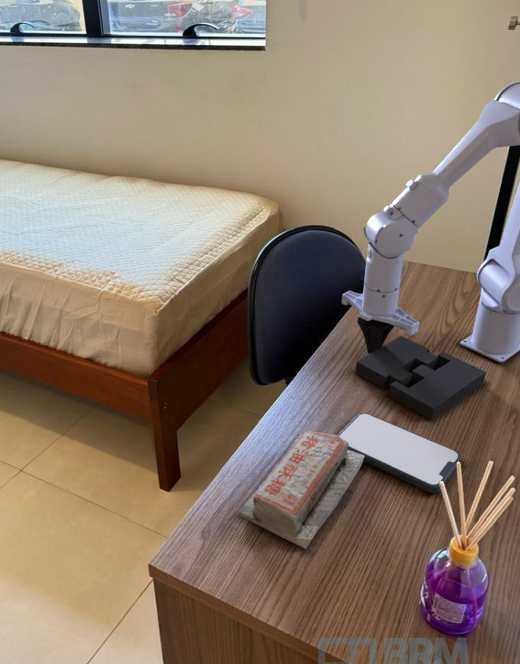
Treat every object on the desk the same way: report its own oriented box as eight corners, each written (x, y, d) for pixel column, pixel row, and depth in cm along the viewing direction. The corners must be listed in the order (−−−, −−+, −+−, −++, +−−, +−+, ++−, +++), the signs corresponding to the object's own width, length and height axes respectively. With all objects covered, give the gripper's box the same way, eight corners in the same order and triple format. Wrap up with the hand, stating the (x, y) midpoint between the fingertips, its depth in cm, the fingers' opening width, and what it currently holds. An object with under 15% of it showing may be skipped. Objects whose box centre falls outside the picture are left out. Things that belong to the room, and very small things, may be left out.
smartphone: (330, 448, 90) (436, 499, 80) (330, 440, 89) (438, 490, 80) (360, 417, 95) (463, 461, 86) (361, 409, 95) (465, 453, 85)
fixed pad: (440, 362, 106) (442, 351, 104) (483, 383, 100) (486, 371, 99) (388, 396, 99) (390, 384, 98) (431, 420, 93) (433, 408, 92)
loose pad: (399, 346, 110) (401, 335, 109) (439, 366, 105) (442, 355, 103) (355, 372, 105) (356, 361, 103) (395, 395, 99) (397, 383, 98)
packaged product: (308, 526, 72) (237, 492, 78) (307, 553, 75) (238, 518, 80) (367, 438, 84) (302, 413, 89) (364, 463, 87) (301, 438, 92)
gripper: (331, 277, 104) (327, 343, 111) (403, 309, 94) (393, 379, 101) (359, 264, 107) (353, 329, 114) (431, 293, 97) (419, 363, 104)
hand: (373, 352), depth 108 cm, fingers closed
